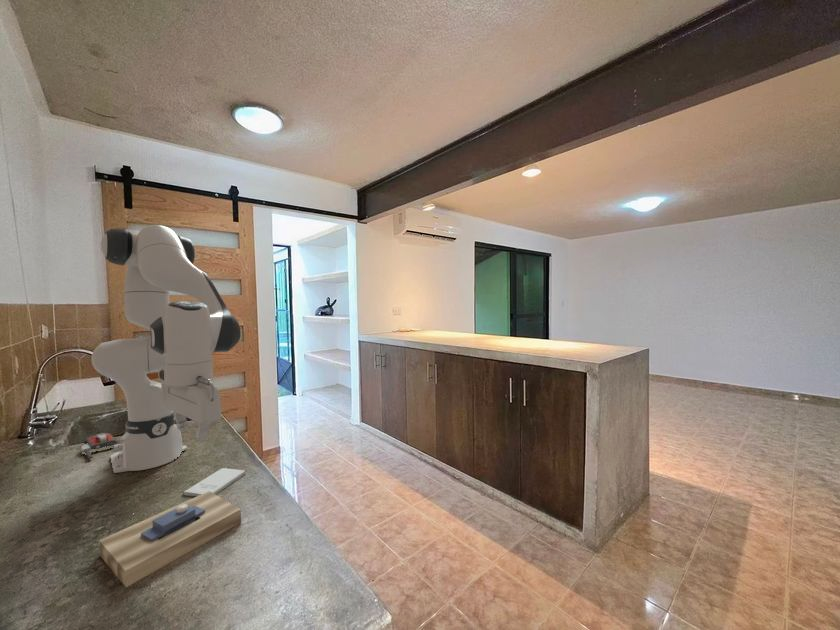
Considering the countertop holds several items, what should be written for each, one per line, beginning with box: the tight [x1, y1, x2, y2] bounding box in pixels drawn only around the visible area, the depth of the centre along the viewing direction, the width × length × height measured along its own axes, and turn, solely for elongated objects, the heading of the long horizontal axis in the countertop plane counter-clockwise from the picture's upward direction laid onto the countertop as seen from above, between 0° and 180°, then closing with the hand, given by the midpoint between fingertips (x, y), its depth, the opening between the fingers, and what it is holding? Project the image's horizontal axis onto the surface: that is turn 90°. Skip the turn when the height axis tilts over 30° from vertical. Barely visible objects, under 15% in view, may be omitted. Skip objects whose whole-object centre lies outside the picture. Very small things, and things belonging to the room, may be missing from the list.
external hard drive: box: [182, 467, 246, 497], centre depth 90 cm, size 2×8×12 cm
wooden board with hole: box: [98, 491, 242, 588], centre depth 69 cm, size 14×20×3 cm
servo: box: [141, 504, 205, 542], centre depth 69 cm, size 4×10×6 cm, turn 154°
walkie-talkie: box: [80, 432, 118, 460], centre depth 113 cm, size 9×4×20 cm
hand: (191, 434), depth 74 cm, fingers open, 8 cm apart
